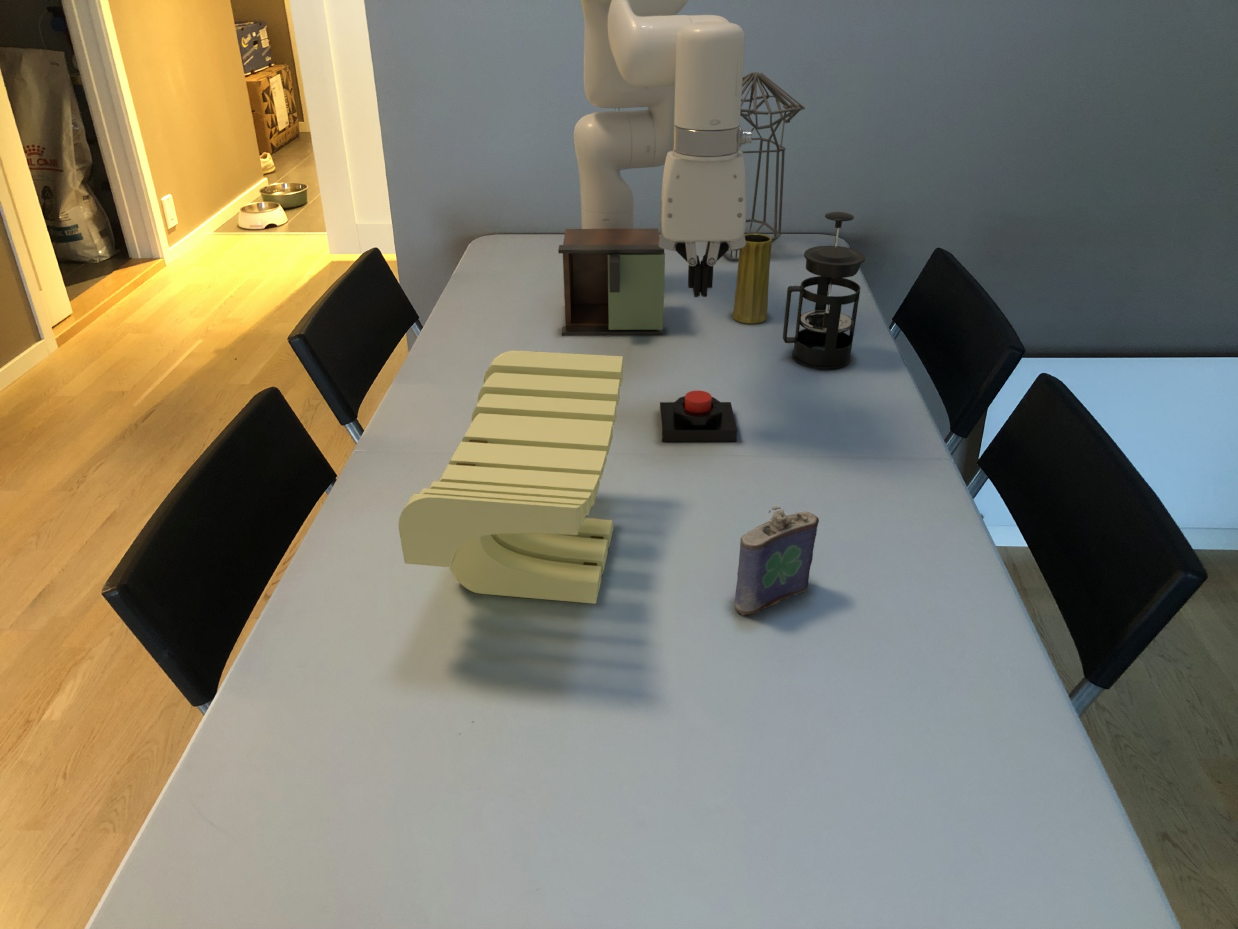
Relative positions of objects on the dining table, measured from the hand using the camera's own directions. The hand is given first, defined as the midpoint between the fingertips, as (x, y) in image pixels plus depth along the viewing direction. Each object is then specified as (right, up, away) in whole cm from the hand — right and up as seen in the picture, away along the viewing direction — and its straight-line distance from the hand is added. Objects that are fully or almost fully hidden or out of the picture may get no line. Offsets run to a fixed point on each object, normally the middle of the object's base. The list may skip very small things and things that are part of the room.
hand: (699, 293), depth 110 cm
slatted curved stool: (-20, -32, -15) cm, 40 cm away
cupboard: (-11, +3, +42) cm, 44 cm away
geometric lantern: (+16, +23, +73) cm, 78 cm away
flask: (+5, -36, -20) cm, 41 cm away
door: (-7, 0, +35) cm, 36 cm away
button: (0, -14, +8) cm, 16 cm away
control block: (0, -17, +10) cm, 19 cm away
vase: (+13, +4, +43) cm, 45 cm away
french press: (+22, -5, +29) cm, 36 cm away
